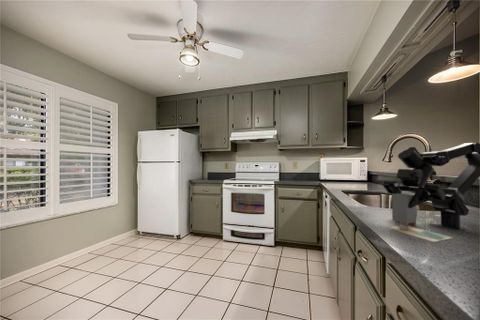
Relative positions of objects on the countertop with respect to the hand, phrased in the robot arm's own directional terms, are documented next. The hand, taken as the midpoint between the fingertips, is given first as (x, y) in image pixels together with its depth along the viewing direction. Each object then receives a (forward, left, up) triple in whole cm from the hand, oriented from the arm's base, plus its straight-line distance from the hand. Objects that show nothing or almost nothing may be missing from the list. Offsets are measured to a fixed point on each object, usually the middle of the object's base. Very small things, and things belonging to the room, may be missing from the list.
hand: (401, 206), depth 76 cm
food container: (-13, -5, -11) cm, 17 cm away
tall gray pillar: (-2, 0, -6) cm, 6 cm away
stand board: (-3, +4, -10) cm, 11 cm away
